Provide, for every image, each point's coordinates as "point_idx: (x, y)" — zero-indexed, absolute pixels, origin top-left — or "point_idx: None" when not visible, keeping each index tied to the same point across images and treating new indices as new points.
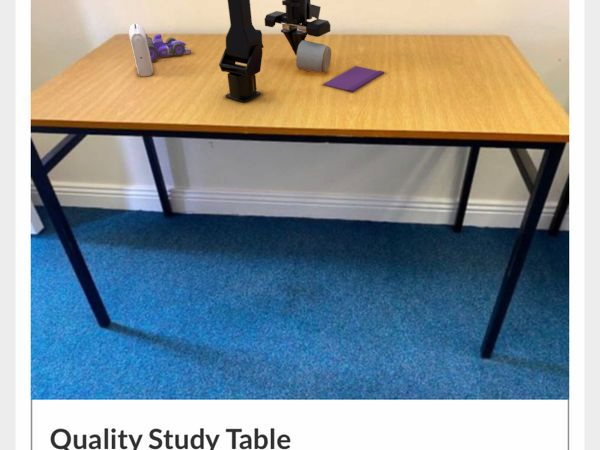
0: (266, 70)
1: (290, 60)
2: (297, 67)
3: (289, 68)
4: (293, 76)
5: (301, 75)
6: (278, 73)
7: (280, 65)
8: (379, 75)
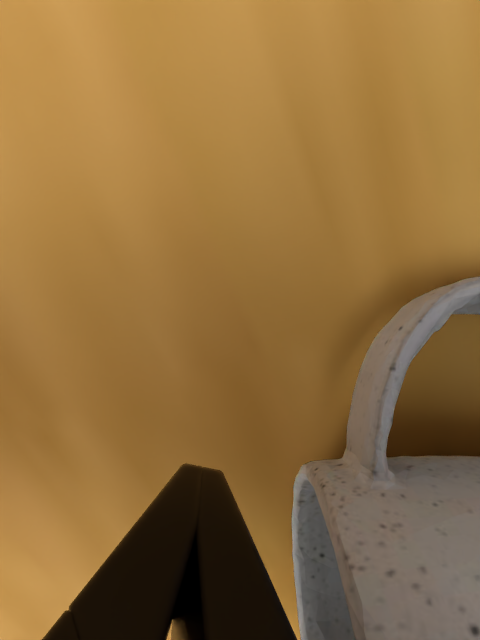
0: (3, 588)
1: (44, 287)
2: (309, 637)
3: None
4: None
5: None
6: None
7: (39, 459)
8: None
